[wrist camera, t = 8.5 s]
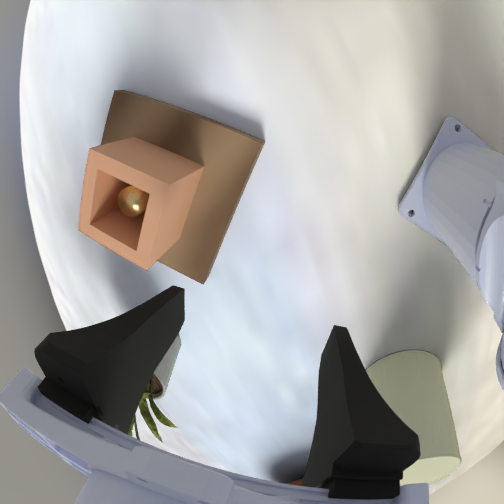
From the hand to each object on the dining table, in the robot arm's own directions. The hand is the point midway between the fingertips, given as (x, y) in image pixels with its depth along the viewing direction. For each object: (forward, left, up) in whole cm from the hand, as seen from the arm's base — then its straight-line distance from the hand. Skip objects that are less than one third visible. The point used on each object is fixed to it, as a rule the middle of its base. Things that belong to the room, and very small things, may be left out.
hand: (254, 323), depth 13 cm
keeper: (+10, 0, -9) cm, 14 cm away
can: (-18, +8, -10) cm, 22 cm away
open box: (+10, 0, -8) cm, 13 cm away
